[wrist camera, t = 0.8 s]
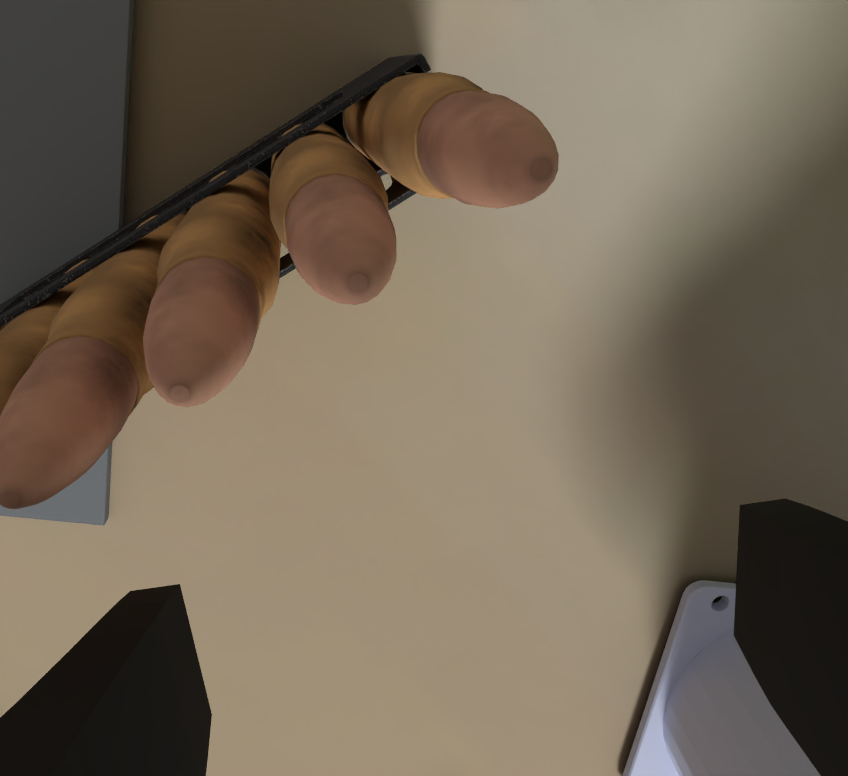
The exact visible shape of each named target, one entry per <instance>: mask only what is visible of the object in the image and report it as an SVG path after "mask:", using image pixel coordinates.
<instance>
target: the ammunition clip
mask: <svg viewBox="0 0 848 776" xmlns="http://www.w3.org/2000/svg"><path fill="white" fill-rule="evenodd" d="M430 70H431V69H430V67H429V65H428V63H427V61H426V59H425V57H424V56H423V55H422V54H415V55H406V56H398V57H390V58H388V59H386V60H385V61H383V62H382V63H380V64H379V65H377V66H375V67H374V68H372V69H371V70H369V71H368V72H366V73H364V74H363V75H361V76H360V77H358V78H357V79H355V80H353V81H352V82H350V83H349V84H347V85H345V86H344V87H342V88H341V89H339V90H338V91H336V92H334V93H333V94H331V95H330V96H328V97H327V98H325V99H323V100H322V101H320V102H319V103H317V104H316V105H314V106H312V107H311V108H309V109H308V110H306V111H305V112H303V113H301V114H300V115H298V116H297V117H295V118H293V119H292V120H290V121H289V122H287V123H286V124H284V125H282V126H281V127H279V128H278V129H276V130H275V131H273V132H271V133H270V134H268V135H267V136H265V137H264V138H262V139H260V140H259V141H257V142H256V143H254V144H252V145H251V146H249V147H248V148H246V149H245V150H243V151H241V152H240V153H238V154H237V155H235V156H234V157H232V158H230V159H229V160H227V161H226V162H224V163H223V164H221V165H219V166H218V167H216V168H215V169H213V170H212V171H210V172H208V173H207V174H205V175H204V176H202V177H200V178H199V179H197V180H196V181H194V182H193V183H191V184H189V185H188V186H186V187H185V188H183V189H182V190H180V191H178V192H177V193H175V194H174V195H172V196H171V197H169V198H167V199H166V200H164V201H163V202H161V203H159V204H158V205H156V206H155V207H153V208H152V209H150V210H148V211H147V212H145V213H144V214H142V215H141V216H139V217H137V218H136V219H134V220H133V221H131V222H130V223H128V224H126V225H125V226H123V227H122V228H120V229H119V230H117V231H115V232H114V233H112V234H111V235H109V236H107V237H106V238H104V239H103V240H101V241H100V242H98V243H96V244H95V245H93V246H92V247H90V248H89V249H87V250H85V251H84V252H82V253H81V254H79V255H78V256H76V257H74V258H73V259H71V260H70V261H68V262H66V263H65V264H63V265H62V266H60V267H59V268H57V269H55V270H54V271H52V272H51V273H49V274H48V275H46V276H44V277H43V278H41V279H40V280H38V281H37V282H35V283H33V284H32V285H30V286H29V287H27V288H26V289H24V290H22V291H21V292H19V293H18V294H16V295H14V296H13V297H11V298H10V299H8V300H7V301H5V302H3V303H2V304H0V505H2V506H3V507H5V508H8V509H20V508H24V507H28V506H32V505H36V504H39V503H41V502H43V501H45V500H47V499H49V498H51V497H52V496H54V495H56V494H57V493H59V492H60V491H62V490H63V489H64V488H66V487H67V486H69V485H70V484H72V483H73V482H75V481H76V480H77V479H79V478H80V477H81V476H82V475H83V474H85V473H86V472H87V471H88V470H89V469H90V468H91V467H92V466H93V465H94V464H95V463H96V462H97V460H98V459H99V458H100V457H101V455H102V454H103V453H104V452H105V450H106V449H107V448H108V446H109V445H110V444H111V443H112V441H113V440H114V439H115V437H116V436H117V435H118V433H119V432H120V431H121V429H122V427H123V426H124V424H125V422H126V420H127V418H128V416H129V415H130V414H131V412H132V411H133V410H134V408H135V407H136V406H137V404H138V403H139V401H140V399H141V398H142V396H143V395H144V394H145V393H147V392H148V391H150V390H151V389H152V388H153V387H154V388H155V389H156V391H157V392H158V394H159V395H160V396H161V397H162V398H163V399H165V400H166V401H167V402H168V403H171V404H173V405H176V406H181V407H190V406H195V405H199V404H202V403H205V402H206V401H208V400H209V399H211V398H212V397H214V396H215V395H217V394H218V393H219V392H221V391H222V390H223V389H225V388H226V387H227V386H228V385H229V384H230V382H231V381H232V380H233V379H234V377H235V376H236V375H237V373H238V372H239V371H240V369H241V368H242V367H243V366H244V364H245V362H246V360H247V358H248V356H249V354H250V352H251V350H252V347H253V344H254V340H255V337H256V333H257V330H258V328H259V324H260V321H261V319H262V318H263V316H264V315H265V314H266V312H267V311H268V310H269V309H270V307H271V306H272V304H273V301H274V298H275V294H276V291H277V288H278V284H279V278H281V277H283V276H284V275H286V274H287V273H289V272H291V271H292V270H294V269H295V268H296V269H297V271H298V272H299V274H300V275H301V277H302V278H303V279H304V280H305V281H306V282H307V283H308V284H309V285H310V286H311V287H312V288H313V289H314V290H315V291H316V292H317V293H318V294H320V295H322V296H324V297H326V298H328V299H330V300H332V301H334V302H336V303H343V304H352V305H356V304H360V303H365V302H368V301H369V300H371V299H372V298H374V297H376V296H377V295H378V294H379V293H380V292H381V290H382V289H383V288H384V287H385V285H386V284H387V283H388V281H389V280H390V277H391V274H392V271H393V268H394V265H395V262H396V235H395V230H394V226H393V224H392V221H391V218H390V216H389V213H388V210H390V209H392V208H393V207H395V206H396V205H398V204H400V203H401V202H403V201H404V200H406V199H408V198H409V197H411V196H412V195H414V194H416V193H418V194H420V195H422V196H428V197H434V198H440V199H445V198H453V199H457V200H459V201H461V202H463V203H465V204H470V205H477V206H483V207H490V208H504V207H509V206H514V205H518V204H523V203H526V202H528V201H530V200H532V199H534V198H536V197H537V196H539V195H541V194H542V193H544V192H545V191H546V190H547V188H548V187H549V186H550V185H551V183H552V182H553V181H554V179H555V176H556V174H557V171H558V156H559V155H558V152H557V148H556V145H555V142H554V140H553V138H552V136H551V134H550V133H549V132H548V130H547V129H546V128H545V126H544V125H543V124H542V122H541V121H540V120H539V119H538V117H537V116H536V115H534V114H533V113H532V112H531V111H529V110H527V109H526V108H524V107H523V106H521V105H519V104H518V103H516V102H514V101H512V100H511V99H509V98H507V97H505V96H502V95H496V94H491V93H489V92H487V91H484V90H483V89H482V88H480V87H479V86H477V85H476V84H474V83H472V82H471V81H469V80H468V79H466V78H465V77H461V76H456V75H451V74H446V73H441V72H438V73H427V72H428V71H430ZM405 72H413V73H420V74H405ZM385 174H389V175H390V176H391V179H392V185H391V186H390V187H389V188H388V189H387V190H386V191H385V188H384V185H383V183H382V180H381V176H383V175H385ZM281 242H282V243H283V244H284V245H285V247H286V248H287V249H288V251H289V253H288V254H286V255H285V256H283V257H281V258H280V247H281Z"/></svg>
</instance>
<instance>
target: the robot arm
mask: <svg viewBox="0 0 848 776" xmlns="http://www.w3.org/2000/svg"><path fill="white" fill-rule="evenodd" d="M718 596H722V598H721V600H719V601H718V602H716V603H712V602H713V600H714V599H715V598H717V597H718ZM211 716H212V714H211V710H210V706H209V702H208V698H207V693H206V689H205V685H204V681H203V677H202V673H201V669H200V665H199V661H198V657H197V653H196V649H195V644H194V640H193V636H192V632H191V628H190V624H189V620H188V616H187V612H186V608H185V604H184V599H183V595H182V591H181V587H180V584H178V585H171V586H164V587H157V588H150V589H142V590H135V591H130V592H129V593H128V594H127V595H126V596H124V597H123V598H122V599H121V600H120V601H119V602H118V603H117V604H116V605H115V606H114V607H113V608H112V609H110V610H109V611H108V612H107V613H106V614H105V615H104V616H103V617H102V618H101V619H100V620H99V621H98V622H97V623H96V624H95V625H94V626H93V627H92V628H91V629H90V630H89V631H88V632H87V633H86V634H85V635H84V636H83V637H82V638H81V640H80V641H79V642H78V643H77V644H76V645H75V646H74V647H73V648H72V649H71V650H70V651H69V652H68V653H67V654H66V655H65V656H64V657H63V658H62V659H61V660H60V661H58V662H57V663H56V664H55V665H54V666H53V667H52V668H51V669H50V670H49V671H48V672H47V673H46V674H45V675H44V676H43V677H42V678H41V679H40V680H39V681H38V682H37V683H36V684H35V685H34V686H33V687H32V688H31V689H30V690H29V691H28V692H27V693H26V694H25V695H24V696H23V697H22V698H21V699H20V700H19V701H18V702H17V703H16V704H15V705H14V706H13V707H11V708H10V709H9V710H8V711H7V712H6V713H5V714H4V715H3V716H2V717H0V776H206V767H207V759H208V748H209V738H210V727H211ZM623 776H848V522H847V521H845V520H842V519H840V518H837V517H835V516H832V515H830V514H827V513H825V512H822V511H820V510H817V509H814V508H812V507H809V506H806V505H803V504H801V503H797V502H794V501H791V500H788V499H780V500H773V501H766V502H759V503H752V504H745V505H740V515H739V535H738V555H737V575H736V583H726V582H715V581H705V580H703V581H696V582H694V583H691V584H690V585H689V586H688V587H687V588H686V589H685V591H684V593H683V595H682V598H681V601H680V604H679V607H678V610H677V613H676V616H675V619H674V622H673V625H672V628H671V631H670V634H669V637H668V640H667V643H666V646H665V649H664V652H663V655H662V658H661V661H660V664H659V667H658V670H657V673H656V676H655V679H654V682H653V685H652V688H651V691H650V694H649V697H648V700H647V703H646V706H645V709H644V712H643V715H642V718H641V721H640V724H639V727H638V730H637V733H636V737H635V740H634V743H633V746H632V749H631V752H630V755H629V758H628V761H627V764H626V767H625V770H624V773H623Z"/></svg>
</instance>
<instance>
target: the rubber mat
mask: <svg viewBox="0 0 848 776" xmlns="http://www.w3.org/2000/svg"><path fill="white" fill-rule="evenodd" d="M133 17H134V0H0V304H2V303H3V302H5V301H7V300H8V299H10V298H11V297H13V296H14V295H16V294H18V293H19V292H21V291H22V290H24V289H26V288H27V287H29V286H30V285H32V284H33V283H35V282H37V281H38V280H40V279H41V278H43V277H44V276H46V275H48V274H49V273H51V272H52V271H54V270H55V269H57V268H59V267H60V266H62V265H63V264H65V263H66V262H68V261H70V260H71V259H73V258H74V257H76V256H78V255H79V254H81V253H82V252H84V251H85V250H87V249H89V248H90V247H92V246H93V245H95V244H96V243H98V242H100V241H101V240H103V239H104V238H106V237H107V236H109V235H111V234H112V233H114V232H115V231H117V230H119V229H120V228H122V227H123V216H124V196H125V176H126V156H127V136H128V117H129V97H130V77H131V57H132V37H133ZM111 454H112V443H111V444H110V445H109V446H108V448H107V449H106V450H105V452H104V453H103V454H102V455H101V457H100V458H99V459H98V460H97V462H96V463H95V464H94V465H93V466H92V467H91V468H90V469H89V470H88V471H87V472H86V473H85V474H83V475H82V476H81V477H80V478H79V479H77V480H76V481H75V482H73V483H72V484H70V485H69V486H67V487H66V488H64V489H63V490H62V491H60V492H59V493H57V494H56V495H54V496H52V497H51V498H49V499H47V500H45V501H43V502H41V503H39V504H36V505H32V506H28V507H24V508H20V509H8V508H5V507H3V506H2V505H0V515H1V516H11V517H21V518H32V519H42V520H53V521H63V522H73V523H84V524H94V525H105V523H106V521H107V519H108V514H109V494H110V474H111Z"/></svg>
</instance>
